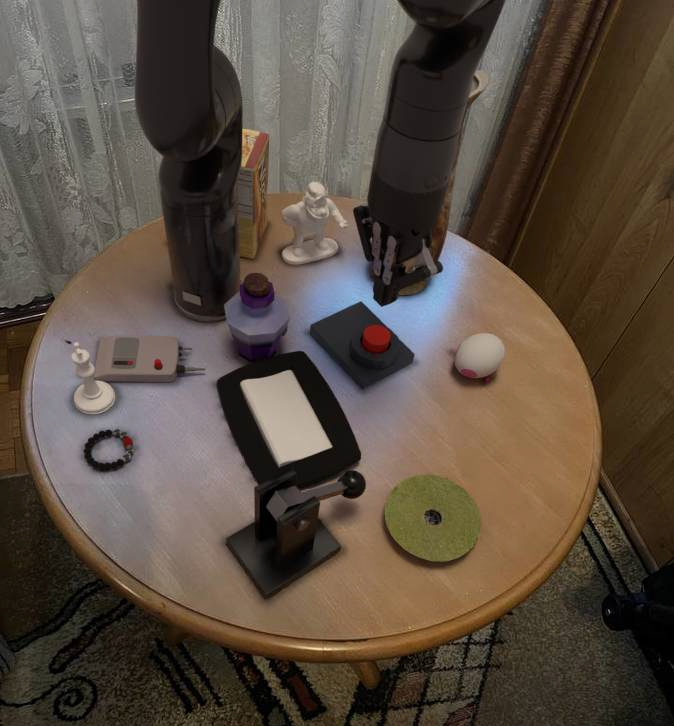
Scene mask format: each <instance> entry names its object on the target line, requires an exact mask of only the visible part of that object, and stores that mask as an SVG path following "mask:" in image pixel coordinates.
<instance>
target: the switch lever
mask: <svg viewBox="0 0 674 726" xmlns="http://www.w3.org/2000/svg"><path fill="white" fill-rule="evenodd" d="M366 489H367V481H366V478H365V476H364V475H363V474H362V473H361V472H360V471H358V470H355V469H349V470H345V471H343V472H341V473H340V475H339V477H338V479H337V482H333V483H329V484H326V485H321V486H319V487H315V488H312V489H308V490H305V491H300V489H299V490H298V488H297V487H296V486H292V487H288V488H284V489H281V490H277V491H275V492H274V494H273V496H272V497H271V499H270V501H269V502H268V504H267V506H266V508H267V509H268V510H269V512H270V513H271V514H272V516H273V517H274V518H275V519H276V521H277V519H278V517H280V516H281V515H283V514H285V513H286V512H288V511H290V510H291V509H293V508H295V507H297V506H298V505H300V504H302V503H303V502H305V501H307V500H308V499H310V498H312V497H313V496H315V497H316V498H317V499H318V500H319V502H321V501H325V500H328V499H331V498H334V497H338V496H341V497H343V498H345V499H348V500H355V499H358V498H360V497H361V496H363V494H364V493H365V491H366Z"/></svg>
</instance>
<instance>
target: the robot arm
mask: <svg viewBox="0 0 674 726" xmlns="http://www.w3.org/2000/svg"><path fill="white" fill-rule="evenodd" d="M396 1H397V3H398V5H399V6H400V7H401V9H402V10H403V11H404V13H405V14H406V15H407V16H408V17H409V18H410V20H411V21H413V22H414V23H415V24H414V26H413V28H412V30H411V32H410V34H409V35H408V36H407V38H406V39H405V41H404V42H403V43H402V44H401V46H400V47H399V48H398V50H396V51H397V52H396V54H395V56H394V59H393V61H392V65H391V69H390V73H389V78H388V84H387V91H386V97H385V103H384V109H383V113H382V119H381V122H380V126H379V128H378V131H377V135H376V136H377V137H376V140H375V141H376V142H375V148H374V154H373V161H372V166H371V172H370V178H369V186H368V191H367V197H366V200H367V202H365V203H362V204H359V205H358V206H355V207H353V209H352V213H353V217H354V221H355V225H356V228H357V232H358V237H359V240H360V243H361V248H362V251H363V256H364V258H365V261H367V262H368V263H370V262H371V263H372V265H373V264H374V266H373V270H374V273H375V274H376V275H375V280H373V286H372V291H373V292H372V293H373V296H372V299H373V300H374V302H376V304H378V305H379V307H381V308H383V307H386V306H388V305H391V304H394V303H395V302H397V300H398V298H399V295H398V294H399V290H401V289H403V288H406V287H408V286H411V285H413V284H416V283H418V282H420V281H423V280H425V279H427V280H428V279H429V278H431V277H432V278H433V277H434V276H437V275H438V274H441V273H442V272H443V270H444V266H443V263H442V262H441V261H439V260H438V261H436V262H434V261H433V259H432V256H431V254H430V251H429V248H430V247H431V245H432V234H431V231H432V227H433V226H434V224H435V222H436V221H437V219H438V217H439V215H440V213H441V210H442V206H443V202H444V199H445V195H446V191H447V188H448V184H449V180H450V177H451V173H452V169H453V166H454V162H455V158H456V154H457V149H458V142H459V134H460V130H461V125H462V121H463V118H464V114H465V110H466V106H467V103H468V99H469V95H470V91H471V86H472V81H473V77H474V74H475V72H476V71H477V69H478V67H479V64H480V62H481V60H482V58H483V56H484V54H485V51H486V49H487V47H488V45H489V43H490V40H491V38H492V35H493V33H494V31H495V29H496V25H497V23H498V21H499V18H500V15H501V14H502V11H503V9H504V6H505V3H506V1H507V0H396ZM221 2H222V0H136V45H135V46H136V47H135V49H136V50H135V69H134V108H135V115H136V118H137V122H138V124H139V126H140V129H141V131H142V133H143V135H144V137H145V138H146V141H148V143H149V144H150V146H151V147H153V149H154V150H155V151H156V152H157V153H158V154H159V155H161V156H162V158H161V161H160V164H159V168H158V172H157V183H158V191H159V197H160V203H161V210H162V218H163V224H164V230H165V236H166V244H167V251H168V258H169V267H170V272H171V280H172V287H173V298H174V299H173V300H174V304H175V307H176V308H177V309H178V311H179V312H180V313H181V314H182V315H183V316H185V317H187V318H189V319H191V320H194V321H197V322H204V323H211V322H218V321H222V320H225V319H226V313H225V308H224V304H225V303H227V302H228V301H229V300H230V299H231V298H232V297H233V296H234V295H235V294H237V293H238V292H239V291H240V287H239V286H240V285H241V260H240V259H241V258H240V257H241V256H240V253H239V224H238V196H237V194H238V193H237V185H238V178H239V174H240V169H241V163H242V129H244V128H243V123H244V122H243V117H244V116H243V113H244V112H243V111H244V109H243V94H242V87H241V83H240V80H239V79H240V78H239V76H238V74H237V71H236V69H235V67H234V65H233V64H232V63H233V62H232V61H231V60H230V59H229V57H228V56H227V55H226V54H225V52H224V51H223V50H221V49H220V48H219V47H218V46H217V45H216V44H215V35H216V26H217V25H216V24H217V21H218V14H219V9H220V5H221ZM372 237H374V238H373V246H372V245H371V240H372ZM416 256H418V260H417V261H416V262H415V266H414V267H412V271H413V272H411V273H407V271H408V268H409V265H410V264H411V263H412V262H413V261H414V259H415V257H416Z"/></svg>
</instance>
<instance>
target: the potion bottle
mask: <svg viewBox="0 0 674 726" xmlns="http://www.w3.org/2000/svg"><path fill="white" fill-rule="evenodd" d="M239 287H240V291H239V292H238V293H237V294H235V295H234V296H233V297H232V298H231V299H230V300H229V301H228V302H227V303H225V304H224V308H225V313H226V318H225V319H226V324H227V326H228V329H229V332H230V335H231V338H232V339H233V340H234V341H235V344H236V347H237V353H238V356H239V357H240V358H243V360H245V361H247V362H249V363H252V362H255V361H257V360H260V359H264V358H267V357H271V356H275V355H277V353H278V346H279V344H280V341H281V338H282V337H284V336H286V334H287V333H288V329H289V328H288V327H289V323H290V319H291V316H290V312H289V308H288V304H287V300H286V299H285V298H283V297H281V296H280V295H278V294H276V292H275V289H274V284H273V282H271V281H269V278H268V276H267V275H265V274H263V273H261V272H251V273H249V274H246V275H245V277H244V278H243V282H242V283H240V286H239Z"/></svg>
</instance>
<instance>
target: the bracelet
mask: <svg viewBox="0 0 674 726" xmlns="http://www.w3.org/2000/svg"><path fill="white" fill-rule="evenodd" d="M112 435H114V436H115V437H117V436H119V437H120V438H121V439H122V445H123V446H124V448H126V450H125V454H123V456H122V458H117V460H116V461H112V462H108V461H107V462H105V463H103V462H99V461H98V460H96V459H95V458H94V457H93V454H92V452H93V451H92V448H93V445H94V444H96V442H98V441H101V439H103V438H105V437H109V438H110V437H111V436H112ZM133 446H134V442H133V440H132V437H129V434H128V432H126V431H122V429H119V428H115V429H110V428H109V429H105V430H99V432H98V433H94V434H93V435H92V436H91V437H88V439H87V442H86V443H84V449H83V453H84V456H83V457H84V459H85V460H86V463H87V464H88V465H91V467H92V468H93V469H97V470H98V471H104V470H106V471H108V470H111V469H113V470H115V469H118V467H123V466H124V465H125V463H126V462H129V461H130V460H131V457H132V456H131V455H132V454H134V451H135V450H134V449H133Z"/></svg>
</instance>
